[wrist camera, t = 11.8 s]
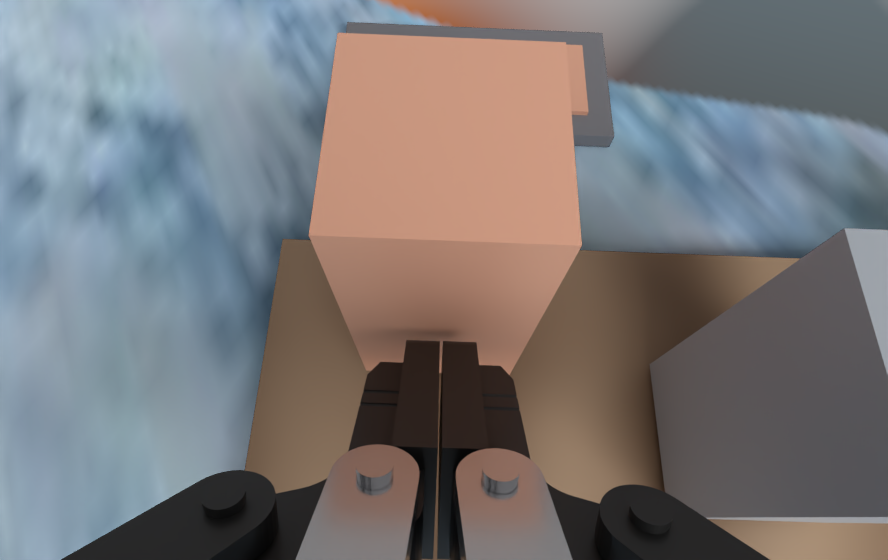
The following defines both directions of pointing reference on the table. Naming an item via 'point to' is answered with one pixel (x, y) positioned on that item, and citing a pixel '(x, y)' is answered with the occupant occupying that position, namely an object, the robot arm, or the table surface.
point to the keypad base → (534, 382)
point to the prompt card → (583, 69)
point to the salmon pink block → (446, 191)
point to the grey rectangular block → (786, 395)
